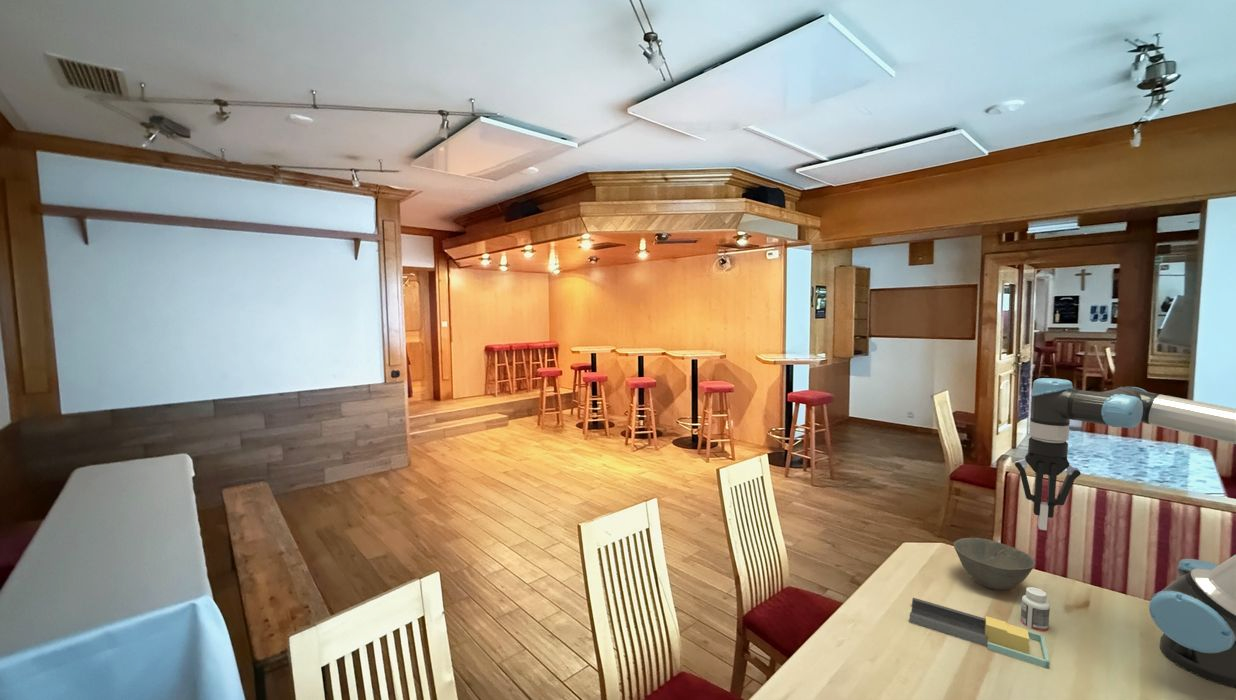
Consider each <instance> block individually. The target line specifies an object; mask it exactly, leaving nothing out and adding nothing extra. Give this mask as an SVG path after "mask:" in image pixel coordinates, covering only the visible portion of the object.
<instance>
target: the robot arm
mask: <svg viewBox="0 0 1236 700" xmlns="http://www.w3.org/2000/svg"><path fill="white" fill-rule="evenodd" d="M1031 389H1032V390H1031V394H1030V397H1031V399H1030V402H1031V403H1030V421H1029V431H1028V432H1029V433H1028V436H1029V438H1028V447H1027V454H1025V456H1024V458H1023V459H1020V460H1017V459H1016V460H1015V461H1014V462H1013V463H1014V466H1015V468H1016V469H1017V470H1018V472H1019V475H1020V479H1021V484H1022V488H1023V491H1024V495H1025V496H1024V497H1025V499H1026V500H1028V501H1031V502H1033V510H1032V511H1033V513H1034V516H1037V517H1038V518H1037V519H1038V520H1037V527H1038V530H1041V531H1048V519H1052V518H1053V517H1054V515H1055V514H1054V513H1055V509H1054V508H1055V507H1056V506H1064V505H1065V503H1066V500H1067V498H1068V496H1069V493H1070V491H1071V489H1072V486H1073V484H1074V482H1075V480H1076V479H1077V478H1078V477H1080V475H1082V474H1081V471H1080V470H1079V469H1078V468H1077V467H1073V466H1072V465H1071V464H1070V462H1069V459H1068V450H1069V449H1068V448H1069V443H1068V442H1067V441H1068V440H1069V437H1070V424H1071V423H1070V422H1071V421H1070V420H1072V421H1079V422H1085V423H1092V424H1096V425H1102V426H1103V425H1104V426H1110V427H1112V428H1124V429H1133V428H1136V427H1137V426H1139V424H1140V423H1141V424H1142V423H1143V424H1146V425H1153V426H1156V427H1160V428H1164V429H1169V430H1173V431H1178V432H1182V433H1185V434H1191V435H1194V436H1199V437H1203V438H1208V439H1211V440H1216V441H1220V442H1224V443H1229V444H1233V445H1236V408H1233V407H1228V406H1224V405H1218V404H1214V403H1213V404H1212V403H1207V402H1204V401H1202V402H1201V401H1198V400H1197V401H1196V400H1192V399H1187V398H1181V397H1176V396H1172V395H1164V394H1162V393H1161V394H1159V393H1155V392H1150V391H1147V390H1145V389H1143V388H1140V387H1136V386H1120V387H1117V388H1115V389H1110V390H1105V391H1094V390H1093V391H1092V390H1091V391H1090V390H1081V389H1077V388H1074V386H1073V382H1072V381H1070V380H1068V379H1061V378H1054V377H1053V378H1052V377H1051V378H1050V377H1049V378H1047V377H1046V378H1045V377H1042V378H1037V379H1035V380H1034V381H1033V383H1032V388H1031ZM1027 464H1028V466H1029V467H1030V468H1031V469H1032V470H1033V472H1034V473H1035V476H1034V490H1033V491H1034V492H1033V494H1032V492H1031V488H1030V484H1029V483H1030V482H1029V480H1028V479H1029V478H1028V476H1027V471H1026V470H1025V469H1027V467H1028V466H1027ZM1065 470H1066V476H1065V478H1064V480H1063V482H1062V485H1061V487H1060V489H1059V492H1058V495H1057V497H1056V489H1057V488H1056V487H1057V486H1056V484H1057V476H1059V475H1060V474H1062V473H1063V472H1064V471H1065ZM1046 475H1047V476H1048V482H1047V494H1046V501H1042V496H1043V494H1042V493H1043V479H1044V476H1046ZM1176 569H1177V577H1176V578H1175V580H1174V581H1172V582H1170V583H1169V584H1168V585H1167V586H1166V587H1164V588H1163V589H1162V590H1161V591H1158V592H1156V593H1154V594H1153V595H1152V597H1151V599H1150V602H1149V606H1148V609H1149V613H1150V617H1151V619H1152V621H1153V623H1154V624H1155V625H1156V627H1157V628H1158V629H1159V630H1160V631H1161V632H1162V634H1161V636H1160V639H1159V650H1160V651H1161V653H1162V654H1163V655H1164V656H1165V657H1166V658H1167V659H1169V660H1170V661H1171V662H1172V663H1174V664H1175V665H1177V666H1179V667H1180V668H1182V669H1184V670H1185V671H1187V672H1190V673H1192V674H1193V675H1196V676H1199V677H1200V678H1203V679H1206V680H1208V681H1211V682H1214V683H1217V684H1219V685H1224V686H1227V687H1230V688H1235V689H1236V554H1234V555H1233V556H1231V557H1229V558H1227V560H1225V561H1223V562H1221V563H1220V564H1219V563H1215V562H1211V561H1206V560H1201V559H1195V558H1183V559H1180V560H1179V562H1178V565H1177V567H1176Z"/></svg>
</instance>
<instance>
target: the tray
mask: <svg viewBox="0 0 1236 700" xmlns="http://www.w3.org/2000/svg"><path fill="white" fill-rule="evenodd" d="M1028 635H1029V640H1033V641H1037V642H1039V644H1040V647H1041V648H1040V649H1041V652H1042V654H1041V655H1042V658H1041V657H1038V656H1035V655H1032V654H1029V653H1028V654H1027V653H1024V652H1021V651H1018V650H1014V649H1011V648H1008V647H1005V646H1002V645H999V644H996V643H993V642H990V641H988V643H987V648H986V649H987V650H989V651H991V652H995V653H998V654H1002V655H1004V656H1008V657H1010V658H1013V659H1017V660H1020V661H1023V662H1026V663H1029V664H1033V665H1035V666H1039V667H1041V668H1045V669H1048V670H1049V669H1050V665H1051V664H1050V658H1049V655H1048V650H1047V646H1046V642H1045V641H1046V640H1045V637H1044V635H1043V634H1041V633H1037V632H1033V631H1030V630H1028Z"/></svg>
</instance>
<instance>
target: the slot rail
mask: <svg viewBox="0 0 1236 700" xmlns="http://www.w3.org/2000/svg"><path fill="white" fill-rule="evenodd" d="M911 602H912V603H911V612H909V620H908V621H909V623H910V624H914V625H917V626H921V627H923V628H927V629H930V630H932V631H936V632H939V633H942V634H946V635H949V636H951V637H952V636H953V637H955V638H958V639H961V640H965V641H967V642H970V643H975V644H976V645H977V644H978V645H980V646H983V647H987V645H988V642H989V641H988V636H986V635H985V619H986V617H985V618H984V617H981V616H978V615H976V614H975V615H974V614H971V613H968V612H964V611H960V610H957V609H954V608H951V607H948V606H944V605H940V604H937V603H933V602H930V601H926V600H923V599H921V598H916V597H912V600H911Z"/></svg>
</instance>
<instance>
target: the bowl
mask: <svg viewBox="0 0 1236 700" xmlns="http://www.w3.org/2000/svg"><path fill="white" fill-rule="evenodd" d="M953 549H954V550H955V552H956V554H957V557H958V559H959V561H960V564H961V565H962V567H963V568H964V569H965V571H966V572H967V574H968V575H969V576H970V577H971V578H972V579H973V580H974V581H975V582H977V583H978V584H980V585H981V586H984V587H985V588H987V589H990V590H993V591H1005V590H1010V589H1013V588H1015V587H1016V586H1019V585H1020V584H1021V583H1023V582H1024V581H1025V580H1026V579H1027V577H1028V576H1029V574H1030V573H1031V572H1032V570H1033V569H1034V568H1035V565H1036V560H1034V558H1033V557H1032V556H1031V555H1029V554H1028V553H1026V551H1025V552H1024V551H1022V550H1020V549H1018V548H1015V547H1013V546H1011V545H1007V544H1004V543H1002V542H998V541H995V540H992V539H987V538H981V537H965V538H964V537H962V538H959V539H957V540H955V541H954V542H953Z"/></svg>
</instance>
